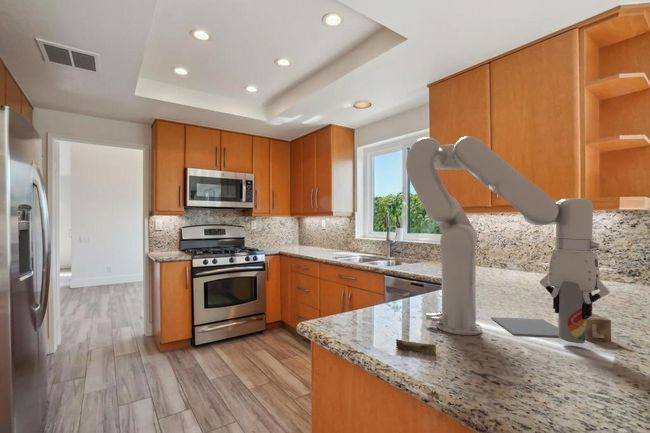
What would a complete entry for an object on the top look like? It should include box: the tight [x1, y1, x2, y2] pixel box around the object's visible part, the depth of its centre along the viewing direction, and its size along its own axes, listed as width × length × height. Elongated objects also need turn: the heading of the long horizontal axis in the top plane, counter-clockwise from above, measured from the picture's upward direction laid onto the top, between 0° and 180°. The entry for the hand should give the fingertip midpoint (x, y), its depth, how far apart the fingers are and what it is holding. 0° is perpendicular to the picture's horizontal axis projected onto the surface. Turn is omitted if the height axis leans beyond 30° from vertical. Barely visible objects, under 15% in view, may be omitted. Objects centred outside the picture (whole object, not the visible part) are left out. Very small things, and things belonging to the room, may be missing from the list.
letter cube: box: [585, 313, 612, 343], centre depth 90 cm, size 6×6×6 cm
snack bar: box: [395, 338, 437, 356], centre depth 79 cm, size 10×2×3 cm, turn 68°
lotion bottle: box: [557, 281, 586, 344], centre depth 84 cm, size 6×6×20 cm
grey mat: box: [490, 316, 559, 338], centre depth 99 cm, size 16×16×1 cm
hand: (571, 314), depth 84 cm, fingers closed on lotion bottle, 5 cm apart
